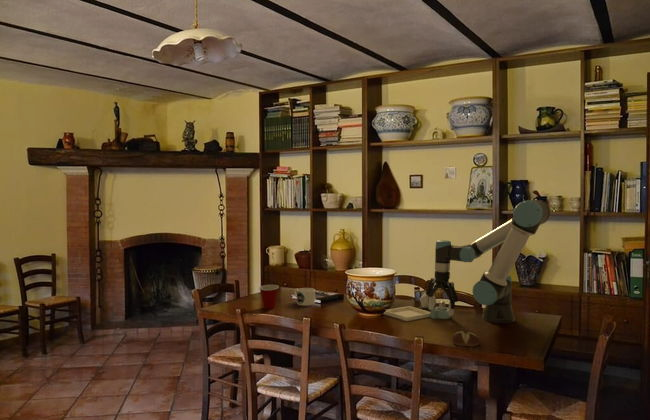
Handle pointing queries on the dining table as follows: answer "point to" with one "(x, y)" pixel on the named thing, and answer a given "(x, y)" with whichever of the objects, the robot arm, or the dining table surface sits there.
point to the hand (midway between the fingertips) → (441, 312)
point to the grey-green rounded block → (440, 313)
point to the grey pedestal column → (441, 305)
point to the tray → (407, 313)
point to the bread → (465, 339)
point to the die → (426, 300)
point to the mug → (305, 296)
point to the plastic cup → (269, 295)
